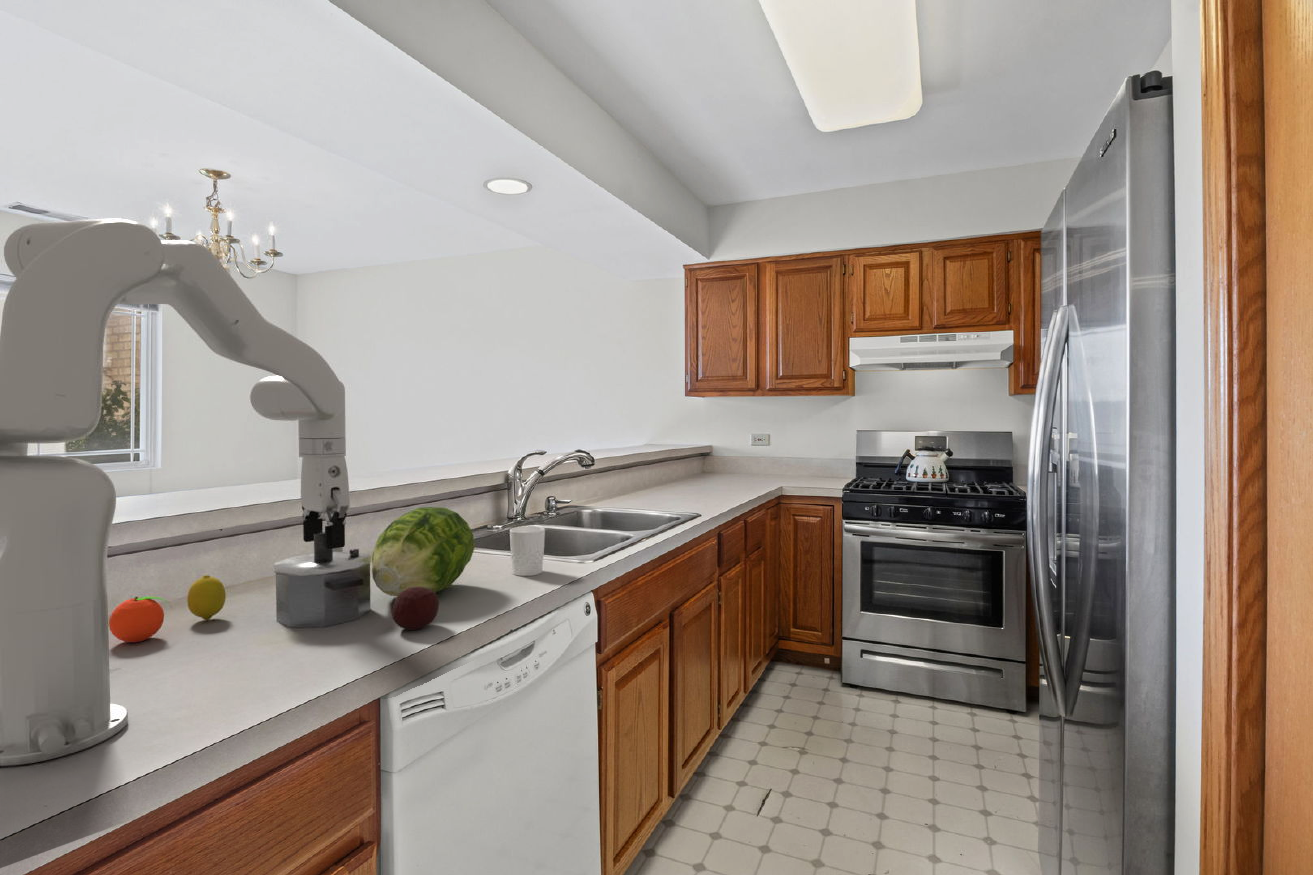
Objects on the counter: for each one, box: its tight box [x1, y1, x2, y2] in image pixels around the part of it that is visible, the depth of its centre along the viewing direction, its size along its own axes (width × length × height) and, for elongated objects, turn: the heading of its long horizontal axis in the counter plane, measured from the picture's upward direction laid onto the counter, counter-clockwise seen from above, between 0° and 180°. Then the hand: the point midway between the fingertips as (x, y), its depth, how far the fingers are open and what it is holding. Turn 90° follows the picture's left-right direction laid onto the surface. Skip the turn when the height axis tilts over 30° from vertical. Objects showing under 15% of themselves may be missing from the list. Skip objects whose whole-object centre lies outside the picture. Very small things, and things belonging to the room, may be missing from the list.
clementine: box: [108, 596, 173, 643], centre depth 105 cm, size 8×7×7 cm
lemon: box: [187, 574, 227, 621], centre depth 115 cm, size 6×6×8 cm
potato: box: [391, 587, 440, 631], centre depth 112 cm, size 7×8×7 cm
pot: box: [275, 563, 372, 629], centre depth 119 cm, size 19×14×9 cm
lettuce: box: [371, 506, 475, 597], centre depth 132 cm, size 17×23×17 cm
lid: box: [273, 531, 372, 576], centre depth 118 cm, size 16×16×6 cm
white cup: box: [509, 525, 546, 577], centre depth 151 cm, size 8×8×10 cm
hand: (323, 543), depth 119 cm, fingers open, 8 cm apart
